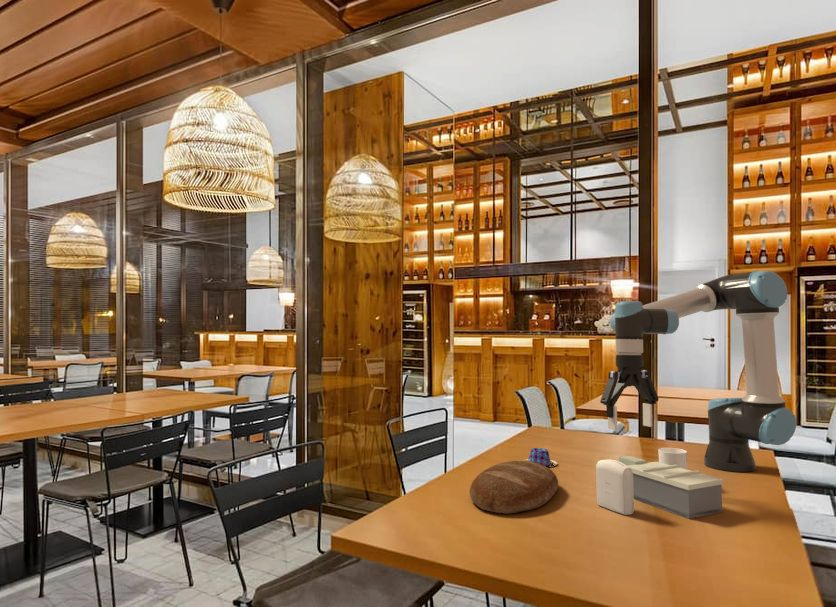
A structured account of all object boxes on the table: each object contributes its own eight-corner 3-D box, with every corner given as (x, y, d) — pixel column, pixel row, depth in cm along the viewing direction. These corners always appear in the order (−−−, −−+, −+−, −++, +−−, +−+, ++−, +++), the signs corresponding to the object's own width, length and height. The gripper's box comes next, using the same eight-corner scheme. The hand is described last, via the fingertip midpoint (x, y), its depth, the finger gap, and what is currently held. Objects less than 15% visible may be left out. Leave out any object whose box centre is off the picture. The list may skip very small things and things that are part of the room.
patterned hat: (562, 463, 187) (561, 448, 188) (550, 470, 177) (550, 454, 177) (529, 459, 194) (529, 444, 194) (516, 466, 184) (516, 450, 184)
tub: (657, 490, 154) (656, 466, 154) (722, 512, 136) (721, 483, 136) (626, 496, 149) (625, 470, 149) (689, 518, 131) (688, 489, 131)
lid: (640, 464, 160) (640, 454, 160) (723, 488, 136) (723, 476, 136) (608, 469, 155) (607, 458, 155) (688, 494, 130) (688, 481, 131)
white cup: (691, 488, 156) (690, 453, 156) (662, 487, 157) (661, 452, 158) (683, 481, 164) (682, 448, 164) (656, 479, 165) (655, 447, 166)
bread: (452, 509, 139) (452, 476, 139) (500, 475, 172) (499, 448, 172) (536, 522, 129) (535, 487, 129) (569, 484, 162) (569, 456, 162)
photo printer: (594, 504, 141) (593, 457, 142) (606, 502, 143) (605, 455, 144) (624, 516, 132) (623, 465, 133) (637, 514, 134) (635, 464, 135)
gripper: (650, 353, 165) (651, 422, 164) (587, 353, 155) (587, 428, 154) (670, 354, 158) (672, 426, 157) (606, 355, 148) (607, 432, 147)
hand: (630, 427), depth 155 cm, fingers open, 13 cm apart
